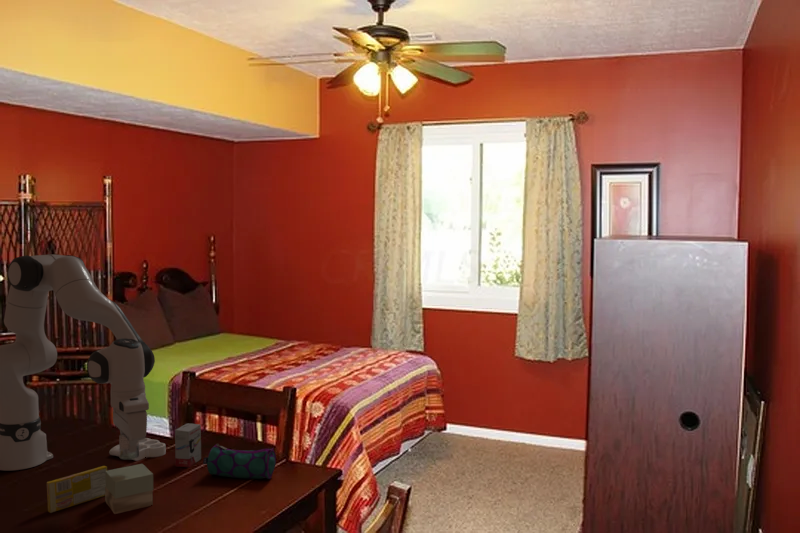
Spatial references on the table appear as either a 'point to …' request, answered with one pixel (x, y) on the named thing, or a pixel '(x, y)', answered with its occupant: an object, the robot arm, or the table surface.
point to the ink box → (187, 445)
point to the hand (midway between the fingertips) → (129, 448)
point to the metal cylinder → (124, 450)
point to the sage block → (129, 480)
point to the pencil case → (241, 463)
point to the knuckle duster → (144, 449)
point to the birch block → (128, 501)
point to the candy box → (76, 489)
